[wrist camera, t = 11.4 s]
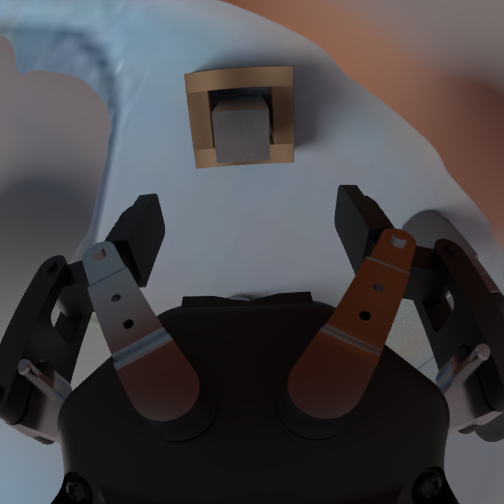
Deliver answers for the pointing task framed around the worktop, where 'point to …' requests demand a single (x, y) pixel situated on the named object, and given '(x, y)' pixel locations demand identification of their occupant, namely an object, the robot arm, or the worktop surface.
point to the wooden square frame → (272, 76)
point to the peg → (241, 129)
